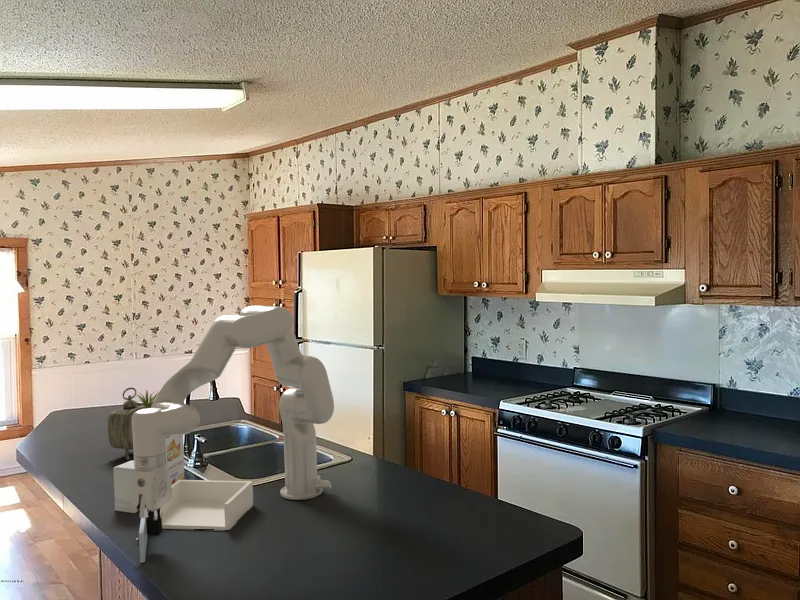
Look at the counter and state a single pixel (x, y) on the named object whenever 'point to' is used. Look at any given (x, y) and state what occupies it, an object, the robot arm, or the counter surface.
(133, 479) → the supplement box
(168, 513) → the case
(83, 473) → the counter surface
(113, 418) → the tabletop clock
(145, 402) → the house plant
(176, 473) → the cracker box
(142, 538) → the side door
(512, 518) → the counter surface
